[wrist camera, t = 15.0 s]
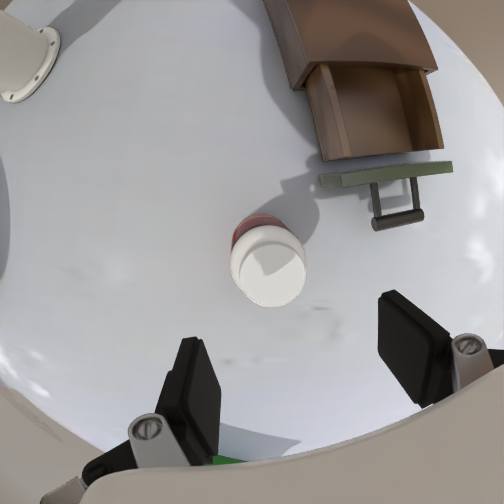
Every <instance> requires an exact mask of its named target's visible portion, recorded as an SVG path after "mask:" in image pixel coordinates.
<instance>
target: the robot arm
mask: <svg viewBox="0 0 504 504" xmlns="http://www.w3.org/2000/svg"><path fill="white" fill-rule="evenodd" d="M59 48H60V36H59V33H58V32H57V31H56V30H55V29H53V28H51V27H43V28H40V29H38V30H35V29H33V28H31V27H30V26H28V25H26V24H25V23H23V22H21V21H20V20H18V19H16V18H15V17H13V16H11V15H9V14H8V13H6V12H4V11H2V10H0V92H1V96H2V97H3V99H4V100H5V101H7V102H11V103H16V102H20V101H22V100H24V99H25V98H27V97H28V96H30V95H31V94H32V93H33V92H34V91H35V90H36V89H37V88H38V87H39V85H40V84H41V83H42V82H43V80H44V79H45V78H46V76H47V75H48V73H49V71H50V70H51V68H52V66H53V64H54V62H55V60H56V57H57V55H58V51H59ZM378 353H379V355H380V357H381V358H382V360H383V361H384V362H385V364H386V365H387V366H388V368H389V369H390V371H391V372H392V373H393V375H394V376H395V377H396V379H397V380H398V382H399V383H400V384H401V386H402V387H403V388H404V390H405V391H406V393H407V394H408V396H409V397H410V398H411V400H412V401H413V402H414V403H415V404H417V403H418V404H419V406H420V407H421V408H422V409H423V408H425V407H427V406H429V405H431V404H434V405H432V406H430V407H428V408H426V409H424V410H422V411H420V412H418V413H416V414H413V415H411V416H409V417H407V418H405V419H402V420H400V421H398V422H395V423H393V424H391V425H388V426H386V427H383V428H381V429H378V430H375V431H373V432H370V433H367V434H365V435H362V436H359V437H356V438H353V439H350V440H347V441H343V442H340V443H337V444H333V445H330V446H326V447H323V448H319V449H315V450H311V451H307V452H302V453H298V454H293V455H288V456H283V457H278V458H272V459H266V460H259V461H252V462H244V463H235V464H224V465H211V466H204V464H213V456H217V455H218V443H219V425H220V408H221V388H220V385H219V383H218V380H217V377H216V375H215V372H214V370H213V367H212V364H211V362H210V359H209V356H208V354H207V351H206V348H205V345H204V342H203V340H202V339H199V340H198V338H197V337H190V338H183V339H182V341H181V344H180V347H179V351H178V354H177V357H176V360H175V363H174V366H173V369H172V371H169V372H168V373H167V376H166V379H165V382H164V385H163V388H162V391H161V394H160V397H159V400H158V403H157V406H156V409H155V413H148V414H144V415H141V416H139V417H137V418H136V419H135V420H134V421H132V423H131V424H130V425H129V428H128V436H129V440H127V441H125V442H124V443H122V444H120V445H119V446H117V447H115V448H113V449H112V450H110V451H108V452H106V453H105V454H103V455H101V456H99V457H97V458H96V459H94V460H92V461H90V462H89V463H88V464H87V465H86V466H85V467H84V469H83V472H82V478H79V477H77V476H76V477H75V478H73V479H72V480H70V481H68V482H67V483H65V484H63V485H62V486H60V487H58V488H56V489H55V490H53V491H51V492H49V493H48V494H46V495H45V496H44V497H42V499H41V501H40V504H504V350H497V349H487V347H486V344H485V342H484V340H483V339H482V338H481V337H480V336H477V335H475V334H470V333H465V334H460V335H458V336H456V337H455V338H454V339H452V338H451V337H450V333H449V332H448V331H446V330H445V329H444V328H443V327H442V326H440V325H439V324H438V323H437V322H435V321H434V320H433V319H432V318H430V317H429V316H428V315H427V314H425V313H424V312H423V311H422V310H420V309H419V308H418V307H417V306H415V305H414V304H413V303H412V302H410V301H409V300H408V299H406V298H405V297H404V296H403V295H401V294H400V293H399V292H397V291H396V290H391V291H388V292H384V293H382V295H381V297H379V299H378Z"/></svg>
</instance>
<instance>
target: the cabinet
mask: <svg viewBox="0 0 504 504" xmlns="http://www.w3.org/2000/svg"><path fill="white" fill-rule="evenodd" d="M263 2H264V4H265V7H266V10H267V13H268V16H269V18H270V21H271V24H272V27H273V30H274V33H275V36H276V40H277V43H278V46H279V49H280V52H281V56H282V59H283V62H284V66H285V69H286V73H287V76H288V80H289V83H290V87H291V90H292V91H294V90H303V89H306V87H305V83H304V81H305V79H306V78H307V76H308V75H309V73H310V72H311V70H312V69H313V67H314V66H315V65H317V64H372V65H387V66H399V67H408V68H416V69H423V70H424V72H425V75H428V74H430V73H432V72H434V71H436V70H438V67H437V64H436V61H435V59H434V56H433V54H432V51H431V49H430V46H429V44H428V42H427V39H426V37H425V35H424V32H423V30H422V28H421V26H420V24H419V22H418V20H417V18H416V16H415V14H414V12H413V10H412V8H411V6H410V5H409V3H408V1H407V0H263Z"/></svg>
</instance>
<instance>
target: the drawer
mask: <svg viewBox="0 0 504 504" xmlns="http://www.w3.org/2000/svg"><path fill="white" fill-rule="evenodd" d="M304 83H305V87H306V90H307V94H308V98H309V101H310V105H311V109H312V113H313V117H314V121H315V125H316V129H317V134H318V138H319V143H320V147H321V152H322V157H323V161H324V162H326V161H332V160H340V159H347V158H355V157H363V156H372V155H381V154H391V153H402V152H415V151H424V150H434V149H444V144H443V139H442V134H441V129H440V125H439V120H438V116H437V112H436V108H435V105H434V101H433V97H432V94H431V90H430V87H429V84H428V81H427V78H426V75H425V72H424V70H423V69H416V68H408V67H399V66H387V65H372V64H317V65H315V66H314V67H313V69H312V70H311V72H310V73H309V75H308V76H307V78H306V79H305V81H304ZM452 172H453V166H452V161H430V162H413V163H404V164H395V165H386V166H378V167H370V168H363V169H355V170H349V171H342V172H335V173H329V174H323V175H319V178H320V183H321V186H325V187H340V188H345V187H351V186H357V185H363V184H369V183H370V190H371V197H372V204H373V212H374V217H373V218H372V220H371V224H372V228H373V230H374V231H376V232H377V231H381V230H385V229H390V228H394V227H399V226H403V225H407V224H412V223H416V222H420V221H423V220H424V212H423V210H422V209H421V208H420V202H419V193H418V184H417V177H418V176H426V175H434V174H443V173H452ZM403 178H410V184H411V192H412V201H413V209H412V210H407V211H402V212H397V213H392V214H387V215H383V216H382V215H381V207H380V199H379V192H378V185H377V182H382V181H389V180H396V179H403Z"/></svg>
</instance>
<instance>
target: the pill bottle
mask: <svg viewBox="0 0 504 504" xmlns="http://www.w3.org/2000/svg"><path fill="white" fill-rule="evenodd" d="M230 270H231V275H232V277H233V279H234V281H235V283H236V285H237V286H238V287H239V288H240V289H241V290H242V291H243V292H244V293H245V295H246V296H247V297H248V298H249V299H250V300H251V301H252V302H254V303H256V304H258V305H260V306H264V307H279V306H283V305H285V304H287V303H289V302H291V301H292V300H294V299H295V298H296V297H297V296H298V295H299V293H300V292H301V290H302V289H303V286H304V284H305V280H306V255H305V251H304V248H303V246H302V244H301V243H300V241H299V240H298V239H297V237H296V236H295V235H294V234H293V233H292V232H291V231H290V230H289V229H288V228H287V227H286V226H285V225H284V224H283V223H282V222H281V221H279V220H278V219H276V218H275V217H272V216H270V215H265V214H258V215H253V216H250V217H248V218H246V219H245V220H243V221H242V222H241V223H240V224H239V225H238V226H237V228H236V230H235V232H234V234H233V238H232V245H231V255H230Z"/></svg>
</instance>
